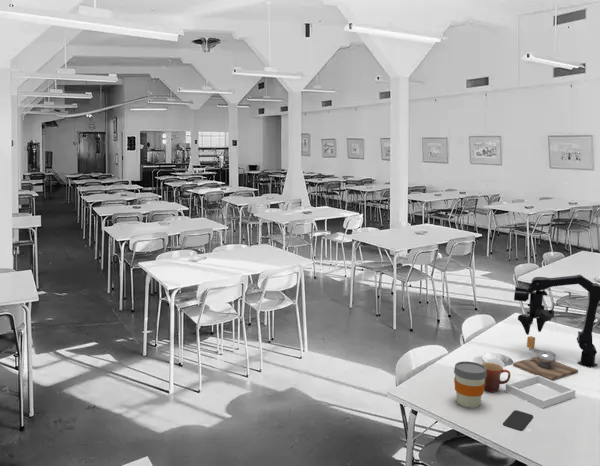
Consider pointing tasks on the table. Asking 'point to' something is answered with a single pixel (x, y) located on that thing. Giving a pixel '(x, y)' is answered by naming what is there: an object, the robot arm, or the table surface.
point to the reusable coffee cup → (469, 383)
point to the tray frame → (513, 389)
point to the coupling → (540, 352)
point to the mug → (494, 377)
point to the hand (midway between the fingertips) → (533, 333)
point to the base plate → (545, 368)
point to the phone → (518, 420)
